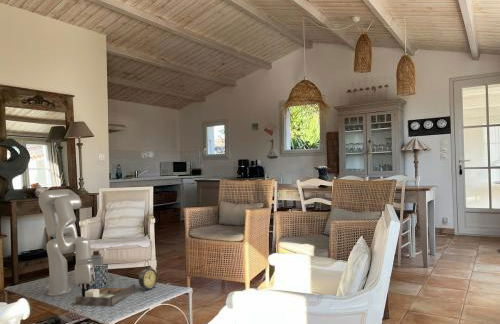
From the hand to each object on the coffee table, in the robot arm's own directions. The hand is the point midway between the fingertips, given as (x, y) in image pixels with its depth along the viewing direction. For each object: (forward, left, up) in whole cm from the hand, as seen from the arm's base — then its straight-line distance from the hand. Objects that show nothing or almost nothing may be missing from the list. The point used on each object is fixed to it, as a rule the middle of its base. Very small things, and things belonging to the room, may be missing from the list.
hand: (85, 296), depth 207 cm
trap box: (+9, +5, -3) cm, 11 cm away
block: (+5, -1, -1) cm, 5 cm away
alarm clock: (+25, +21, -3) cm, 33 cm away
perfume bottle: (-22, +39, -3) cm, 45 cm away
